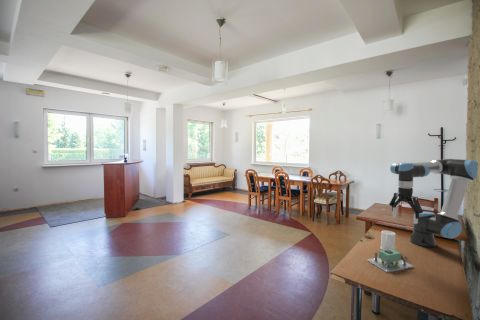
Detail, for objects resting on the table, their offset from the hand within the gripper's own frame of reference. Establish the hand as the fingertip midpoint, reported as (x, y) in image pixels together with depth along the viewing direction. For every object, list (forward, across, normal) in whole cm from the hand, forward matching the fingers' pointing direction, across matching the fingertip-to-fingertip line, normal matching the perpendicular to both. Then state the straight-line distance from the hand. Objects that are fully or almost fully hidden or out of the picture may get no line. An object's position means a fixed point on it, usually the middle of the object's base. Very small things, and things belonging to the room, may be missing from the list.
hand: (404, 220), depth 149 cm
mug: (+24, -10, -3) cm, 26 cm away
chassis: (+23, +5, -18) cm, 30 cm away
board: (+20, +5, -18) cm, 28 cm away
